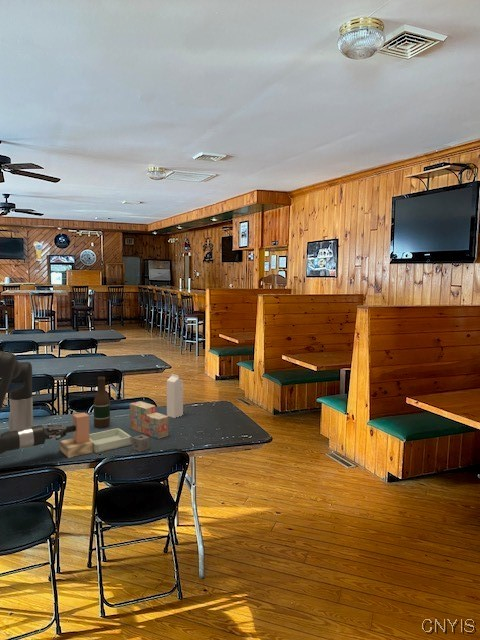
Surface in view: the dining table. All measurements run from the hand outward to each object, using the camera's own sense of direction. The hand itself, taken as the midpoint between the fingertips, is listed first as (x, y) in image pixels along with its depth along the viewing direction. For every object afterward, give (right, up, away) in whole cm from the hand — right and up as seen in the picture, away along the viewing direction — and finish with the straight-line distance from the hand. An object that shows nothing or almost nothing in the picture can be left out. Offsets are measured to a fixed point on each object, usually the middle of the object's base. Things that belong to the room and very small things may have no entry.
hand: (75, 428), depth 190 cm
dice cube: (+26, -10, +5) cm, 29 cm away
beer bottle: (+1, -7, +33) cm, 34 cm away
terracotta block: (+2, -6, +2) cm, 6 cm away
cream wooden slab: (0, -10, +1) cm, 10 cm away
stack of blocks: (+25, -8, +26) cm, 37 cm away
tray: (+11, -9, +10) cm, 17 cm away
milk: (+34, -5, +50) cm, 61 cm away
